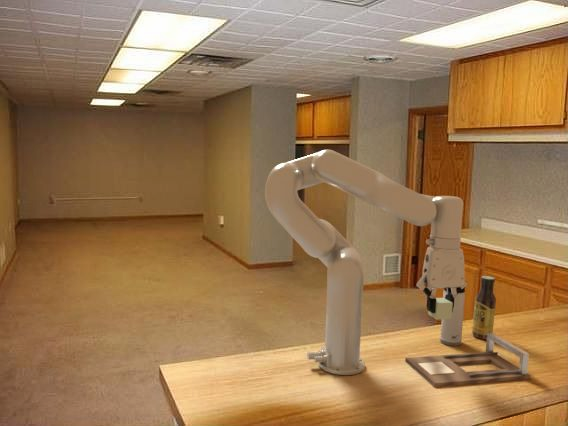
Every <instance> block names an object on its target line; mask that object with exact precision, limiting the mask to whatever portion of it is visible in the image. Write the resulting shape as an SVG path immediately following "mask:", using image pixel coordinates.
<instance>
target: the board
mask: <svg viewBox="0 0 568 426" xmlns="http://www.w3.org/2000/svg"><path fill="white" fill-rule="evenodd" d="M404 361H405V363H407V364H408V365H409V366H410V368H412V369H413V370H414V371H416V373H418V374H419V375H420V376H421V377H422V378H423V379H425V380H426V381H427V383H429V384H430V385H432V387H433V388H440V387H452V386H462V385H475V384H485V383H489V384H490V383H499V382H510V381H511V382H512V381H522V380H531V378H532V376H531V374H529V373H528V372H527V374H523V375H522V374H520V373H519V366H518V365H517V366H516V365H515V364H513V363H511V361H509V360H507V359H505V358H504V357H502V356H501V355H499V353H498V352H497V351H496V352H495V351H493V352H491V353H487V352H486V351H484V352H471V353H455V354H443V355H429V356H428V355H427V356H415V357H412V356H411V357H405V360H404ZM489 363H491V364H492V365H494V366H496V367H497V369H496V368H495V369H484V370H474V371H471V370H470V371H466V370H464V369H463V368H462V367H460V366H462V365H464V366H465V365H475V364H489Z"/></svg>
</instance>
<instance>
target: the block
mask: <svg viewBox="0 0 568 426" xmlns="http://www.w3.org/2000/svg"><path fill="white" fill-rule="evenodd" d="M435 298H436V309H435V313H431V312H430V311H428V310H427V315H429V317H431V318H433V319H435V320H436V321H437V320H438V321H439V320H442V319H451V318H452V306H453V303H452V302H450V301H449V300H447V299H445V298H443V297H435Z"/></svg>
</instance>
